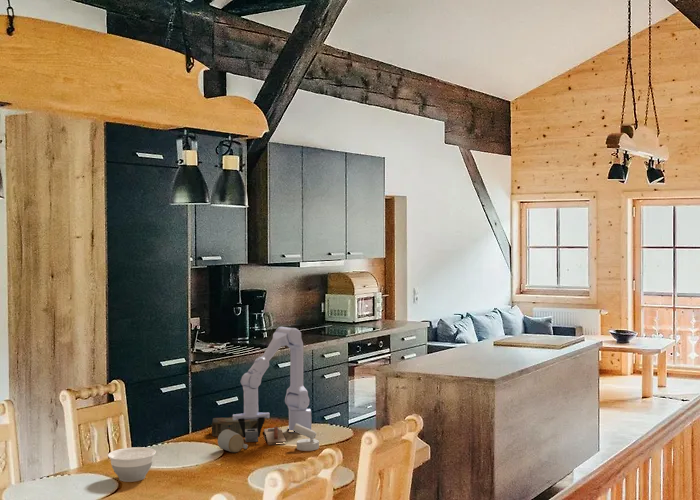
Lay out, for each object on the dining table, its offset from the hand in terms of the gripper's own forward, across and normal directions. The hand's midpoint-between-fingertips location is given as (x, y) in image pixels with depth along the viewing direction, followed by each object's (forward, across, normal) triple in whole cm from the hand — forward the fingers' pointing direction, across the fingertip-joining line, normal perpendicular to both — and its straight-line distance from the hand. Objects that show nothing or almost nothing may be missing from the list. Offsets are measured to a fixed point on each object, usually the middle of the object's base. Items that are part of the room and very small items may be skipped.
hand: (251, 436), depth 336 cm
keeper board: (+1, -10, -2) cm, 10 cm away
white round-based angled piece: (+2, -19, +17) cm, 26 cm away
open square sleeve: (+1, 0, 0) cm, 1 cm away
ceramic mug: (+2, +8, +13) cm, 16 cm away
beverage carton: (+2, +5, -14) cm, 15 cm away
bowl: (+2, +45, +41) cm, 61 cm away
